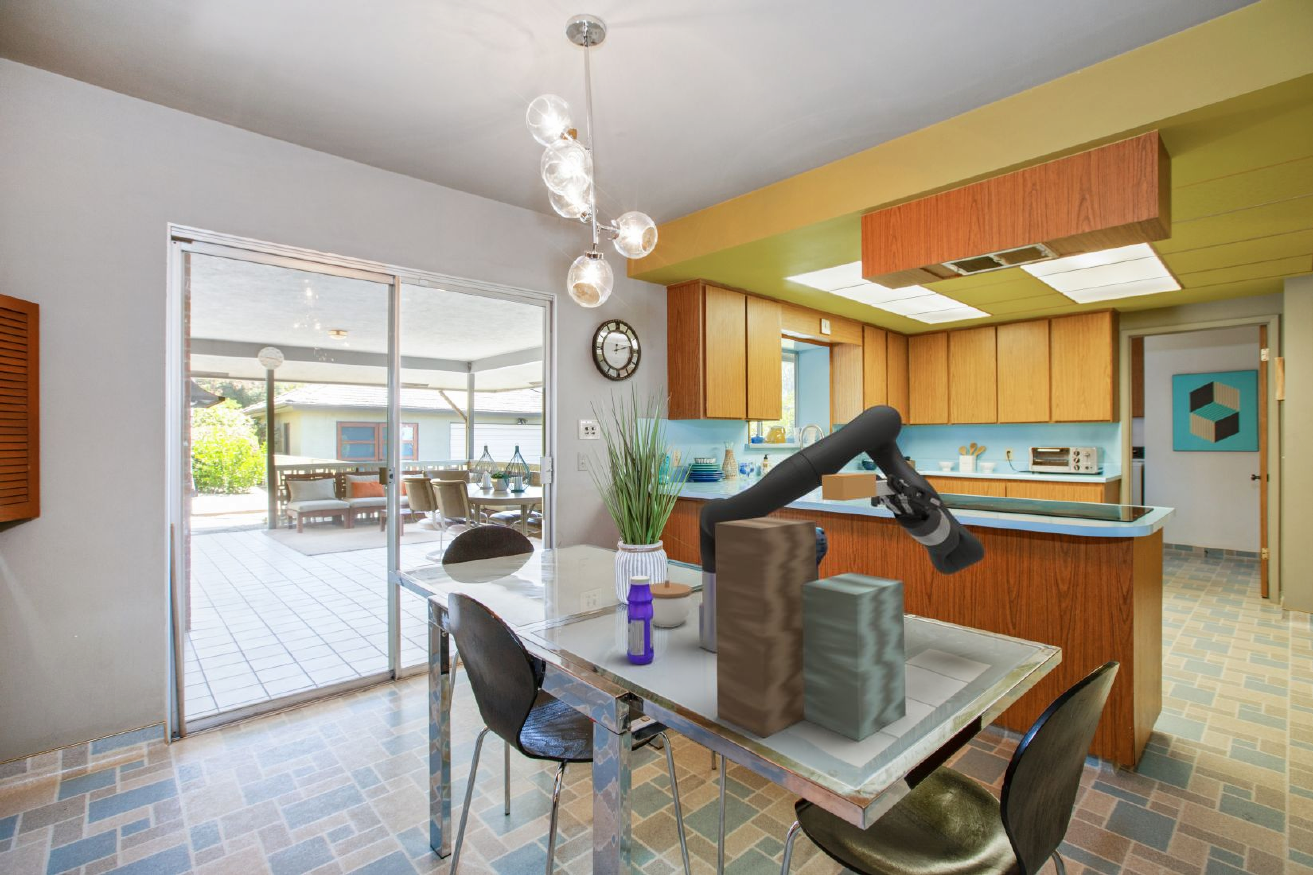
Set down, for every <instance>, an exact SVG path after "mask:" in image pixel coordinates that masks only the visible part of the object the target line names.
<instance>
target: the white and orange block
mask: <svg viewBox="0 0 1313 875" xmlns="http://www.w3.org/2000/svg"><path fill="white" fill-rule="evenodd" d="M876 474H877V473H867V472H866V473H864V472H863V473H861V472H856V473H855V472H854V473H853V472H851V473H839V474H835V475H822V485H821V492H822V493H821V494H822V497H821V498H822V500H823V501H824V500H825V501H841V502H845V501H854V500H862V499H869V498H870V499H871V497H876V496H882V495H891V494H895V493H894V492H893V491H892V490H891V489H890V488H889V487H888V486H887V479H883V480H881V481H876ZM900 481H901V482H902V483H903V480H900Z"/></svg>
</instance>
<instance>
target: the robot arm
mask: <svg viewBox="0 0 1313 875" xmlns="http://www.w3.org/2000/svg"><path fill="white" fill-rule="evenodd" d="M902 426H903V420H902V416H901V413H900V412H899V411H898V409H896V408H894V407H893V406H890V405H885V404H878V405H874V406H871V407H868V408H867V409H865V410H863V411H862V412H861V413H860V414H858V415H857V416H856V417H854V419H852V420H851V421H849V422H848V423H846V424H845V425H844V426H842V427H840V428H839V429H838V430H836V431H834V432H832V433H831V434H828V435H827V436H824V437H822V438H821V439H819V440H817V441H815V442H814V443H811V444H810V445H808V446H806V447H804V448H803V449H801V450H799V451H797V452H795V453H794V454H792V455H790V456H789V457H786V458H785V459H783V460H782V461H780V462H779V463H778V464H776V465H775V466H774V467H772V468H771V469H770V470H769V471H768V472H767V473H766V474H764V476H762V478H761V479H760V480H759V481H757V482H756V483H755V484H753V485H752V486H750V487H748V488H747V489H745V490H743V491H740V492H739V493H737V494H734V495H732V496H730V497H728V498H724V497H715V498H712V499H710V500H708V501H707V502H705V503H704V504H703V506H702V508H701V509H700V513H699V518H698V520H699V521H698V522H699V524H698V525H699V526H698V528H699V529H698V530H699V553H700V554H699V555H700V561H701V576H702V577H701V588H702V593H701V594H702V599H701V600H702V602H701V603H699V605H698V634H699V635H698V637H699V639H698V641H699V642H698V643H699V645H698V646H699V648H703V649H705V650H707V651H709V652H713V653H717V636H716V556H715V523H721V522H729V521H737V520H746V519H754V518H763V517H768V516H769V515H770V514H772V513H774V512H776V511H778V510H779V509H782V508H783V507H785V506H788V505H789V504H792V503H793V502H796V500H799V499H801V498H802V497H804V496H806V495H808V494H810V493H812V492H813V491H815V490H817V489H819V488H820V487H822V475H836V474H837V473H839V472H840V471H841V470H842V469H843V468H844V467H845V466H847V465H848V464H849V463H850V462H851V461H853V459H855V458H856V457H858V456H859V455H861V454H863V453H865V454H866V455H867V456H868V458H870V459H871V460H872V462H873V463H874V464H875V466H877V467H878V469H879V470H880V471H881V473H882V474H883V475H884V476H885V477H886V480H887V486H888V487H889V488H890V489H891V490H892V491H893V492H894V493H895V494H891V495H882V496H876V497H871V498H870V505H871V507H873V508H877V507H878V506H881V505H882V506H885V508H886V509H887V510H888V511H891V512H892V513H893V516H894V518H895V521H896V523H897V524H898V525H899V526H900V527H901V528H903V530H905V532H907V533H908V534H909V535H910V536H911V537H912V538H913V539H914V540H916V541H917V542H919V543H921V545H922V546H923V547H924V548H925V549H926V550H927V553H928V558H929V560H930V561H931V562H930V563H931V564H932V566H933V567H934V568H935V570H936V571H938V573H940V574H941V575H947V576H949V575H953V574H954V575H955V574H956V573H958V572H960V571H962V570H964V569H967V568H969V567H971V566H973V565H975V564H977V563H980V562H981V561H983V559H984V557H985V548H984V545H983V543H982V542H981V540H980V539H978V538H977V536H975V534H973V532H971V531H970V530H968V528H966V527H965V526H964V525H963V524H962V523H961V522H959V520H958V519H957V518H956V517H955V516H954V515H953V514H952V512H951V511H950V510H949V509H948V507H947V505H946V504H945V502H944V501H943V500H942V498H941V496H940V495H939V493H938V491H937V490H936V489H935V487H933V485H932V484H931V483H930V482H929V481H928V479H926V478H925V477H924V476H923V475H921V474H920V472H918V471H917V470H915V469H914V467H912V465H911V464H910V463H909V462H908V460H907V459H906V458H905V456H904V455H903V454H902V452H901V450H900V447H899V445H898V443H897V441H896V440H897V438H898V437H899V435H900V433H901V430H902ZM875 474H876V481H881V480H884V478H883V477H881V475H880V474H877V473H875ZM900 480H903V483H902V482H901V481H900Z"/></svg>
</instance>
